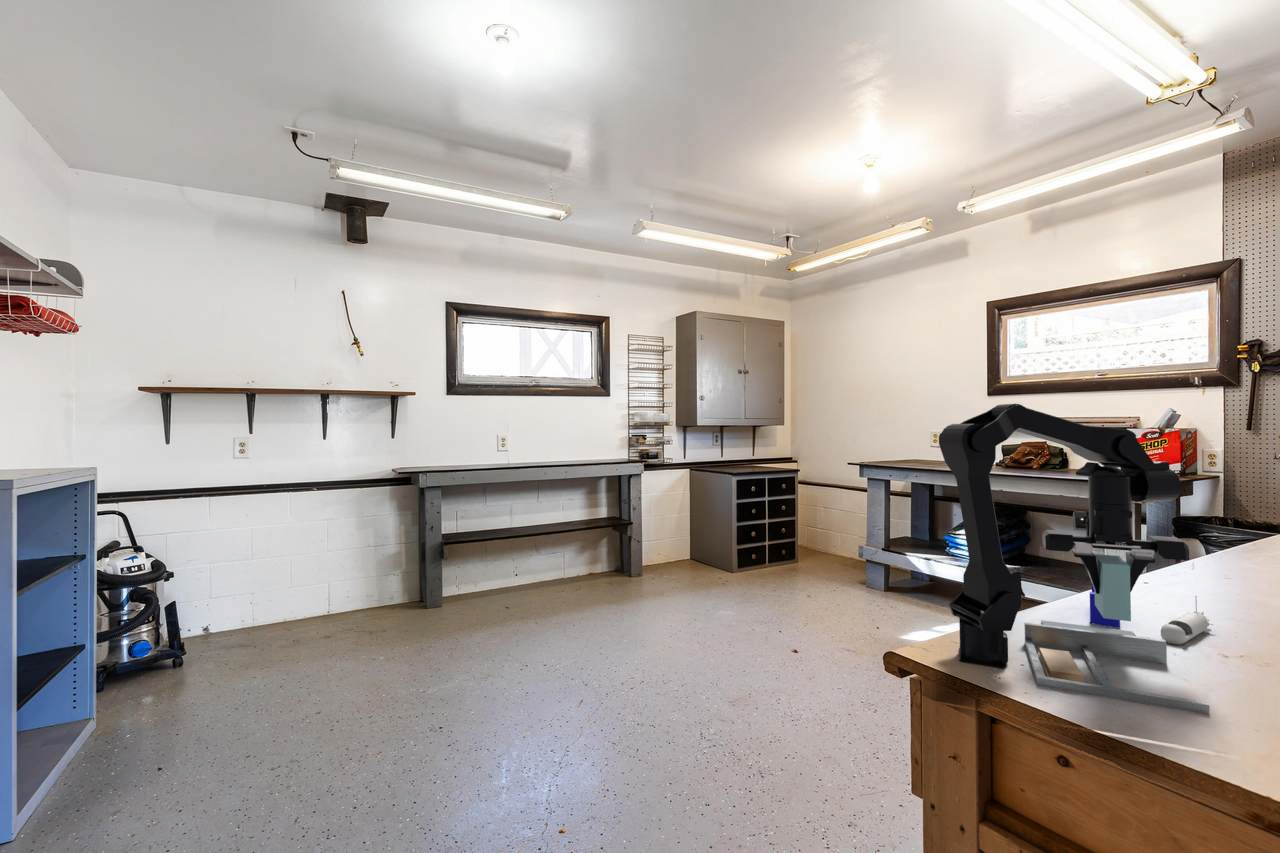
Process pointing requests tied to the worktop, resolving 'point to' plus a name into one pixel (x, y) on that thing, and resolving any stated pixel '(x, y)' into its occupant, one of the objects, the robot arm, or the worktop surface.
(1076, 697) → the worktop surface
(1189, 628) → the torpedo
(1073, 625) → the rubber mat
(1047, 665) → the upper offcut
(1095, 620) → the blue piece
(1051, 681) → the rack
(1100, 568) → the pale teal block
